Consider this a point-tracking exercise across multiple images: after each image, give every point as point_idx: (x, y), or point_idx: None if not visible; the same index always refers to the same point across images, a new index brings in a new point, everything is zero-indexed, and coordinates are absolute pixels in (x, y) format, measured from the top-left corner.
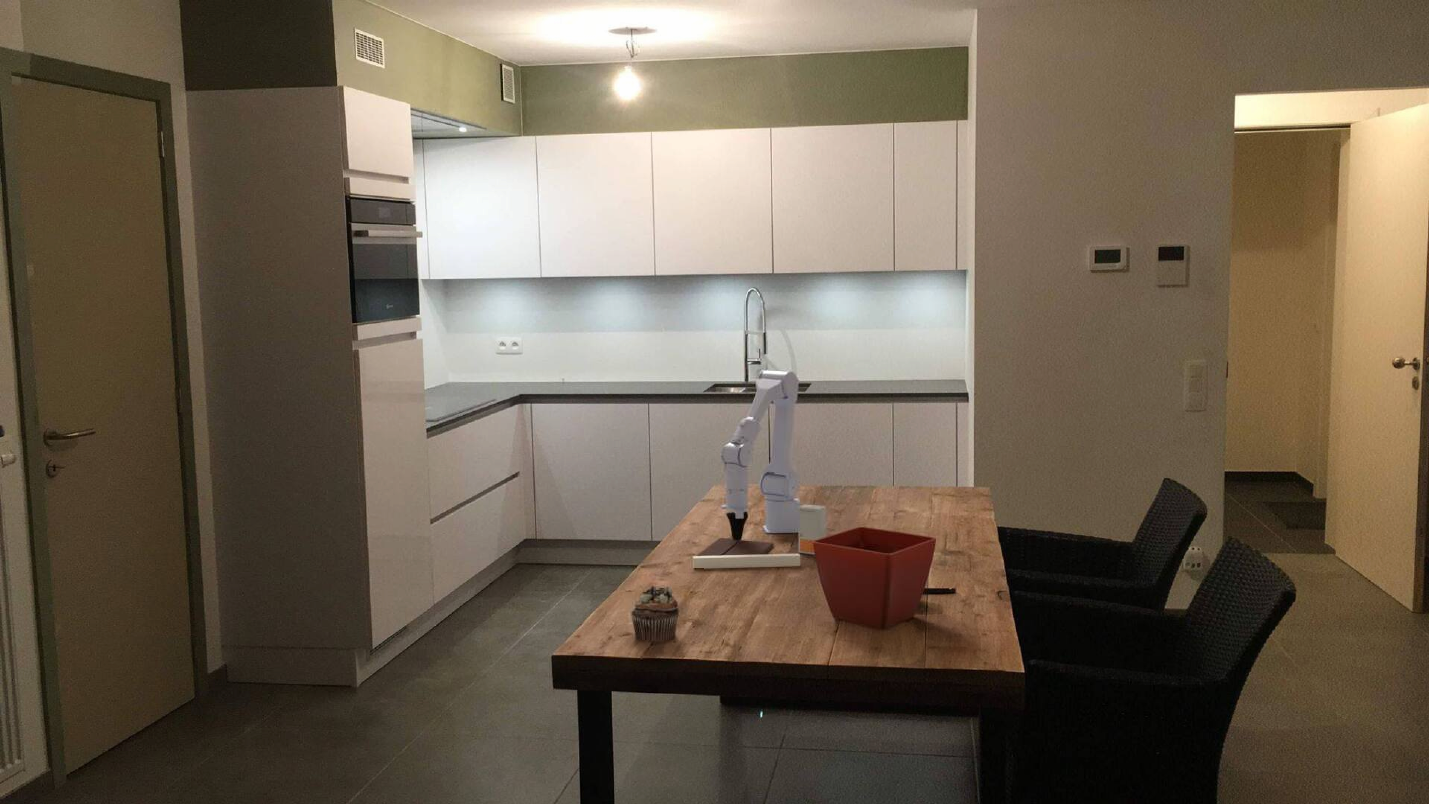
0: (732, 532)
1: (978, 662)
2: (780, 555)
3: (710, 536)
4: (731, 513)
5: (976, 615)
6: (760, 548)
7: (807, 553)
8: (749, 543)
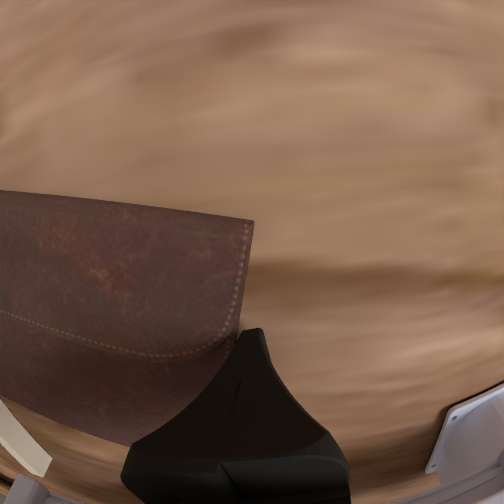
0: (225, 363)
1: None
2: (2, 443)
3: (450, 144)
4: (224, 501)
5: (7, 494)
6: (99, 427)
7: None
8: (166, 405)
